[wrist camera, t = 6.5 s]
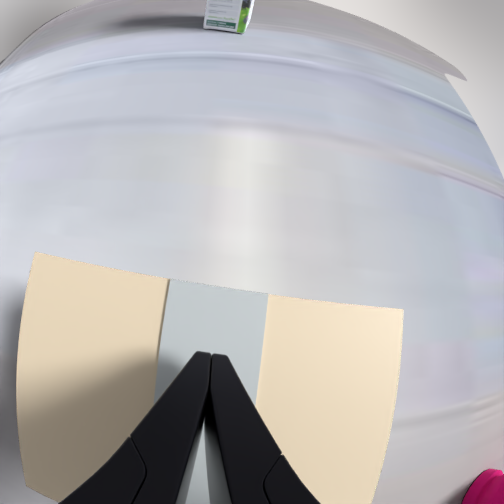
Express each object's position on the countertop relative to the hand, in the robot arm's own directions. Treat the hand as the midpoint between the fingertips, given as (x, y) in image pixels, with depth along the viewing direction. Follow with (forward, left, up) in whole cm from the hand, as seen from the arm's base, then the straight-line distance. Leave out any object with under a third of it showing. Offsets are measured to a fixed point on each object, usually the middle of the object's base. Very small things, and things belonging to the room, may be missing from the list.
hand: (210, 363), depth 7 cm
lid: (-2, -1, -2) cm, 3 cm away
